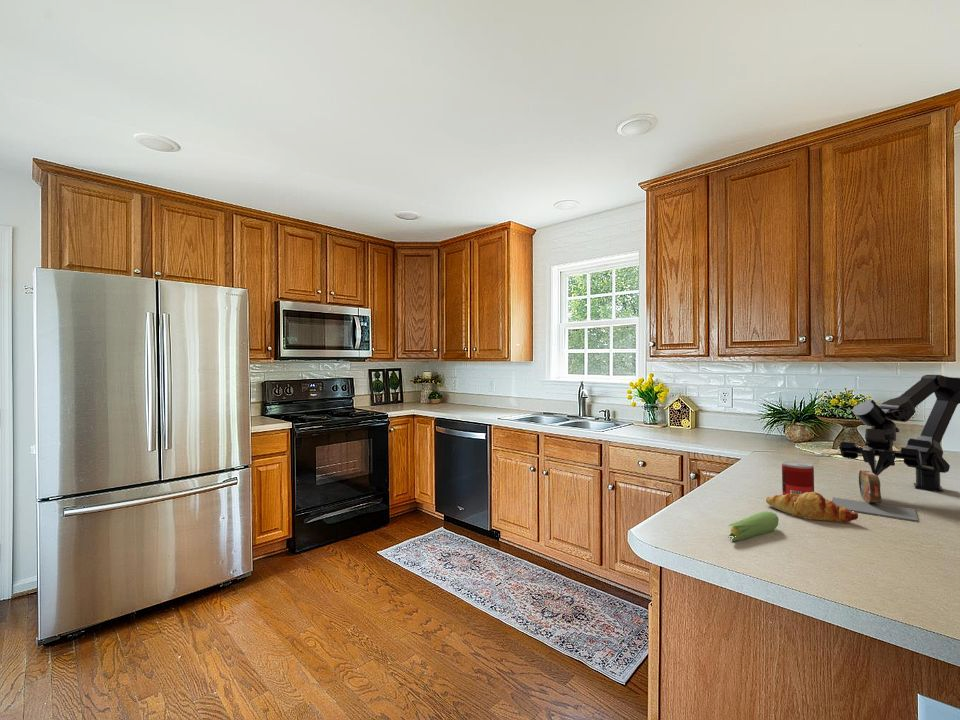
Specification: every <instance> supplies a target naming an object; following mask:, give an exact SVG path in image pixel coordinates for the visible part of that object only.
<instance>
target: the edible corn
mask: <svg viewBox="0 0 960 720" xmlns="http://www.w3.org/2000/svg"><path fill="white" fill-rule="evenodd" d="M779 520H780V519H779V516H778V515H777V514H776V513H775V512H772V511H767V510H766V511H764V510H763V511H761V512H757V513H755V514H752V515H750V516H748V517H745V518H742V519H741V520H738V521H735V522H732V523H730V524H728V525H727V526H728V527H731V528H730V533H729V535H728V537H729V536H733V537H734V538H733V539H732V540H731V542H732V541H734V542H736V540H737V541H741V540H745V539H749V538H752V536H753V537H756V536H755V535H757V536H760V534H761V535H764V533H765V534H768V533H771V532H774V531H775V530H776V528H777V527H778V526H779ZM735 536H736V537H735ZM748 537H749V538H748ZM744 538H745V539H744Z"/></svg>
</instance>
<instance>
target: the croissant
mask: <svg viewBox="0 0 960 720" xmlns="http://www.w3.org/2000/svg"><path fill="white" fill-rule="evenodd" d="M765 502H766V504H768V505H770V506H771V507H772V508H774V509H776V510H778V511H781V512H783V513H786V514H788V513H789V515H791V514H792V516H794V515H795V516H794V517H798V516H800V517H799V518H804V517H806V518H805V519H807V518H810V519H809V520H813V519H815V520H814V521H826V520H828V522H835V523H848V522H852V521H857V520H858V519H859V514H858V513H859V512H852V511H849V510H848V509H847V508H844V507H842V506H837V505H836V504H835V503H834V502H832V500H829V499H828V498H825V497H824V496H823V495H822V494H821V493H818V492H816V491H814V492H806V493H803V494H794V493H789V494H786V495H783V494H776V495H773V496H767V497H766V498H765Z"/></svg>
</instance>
